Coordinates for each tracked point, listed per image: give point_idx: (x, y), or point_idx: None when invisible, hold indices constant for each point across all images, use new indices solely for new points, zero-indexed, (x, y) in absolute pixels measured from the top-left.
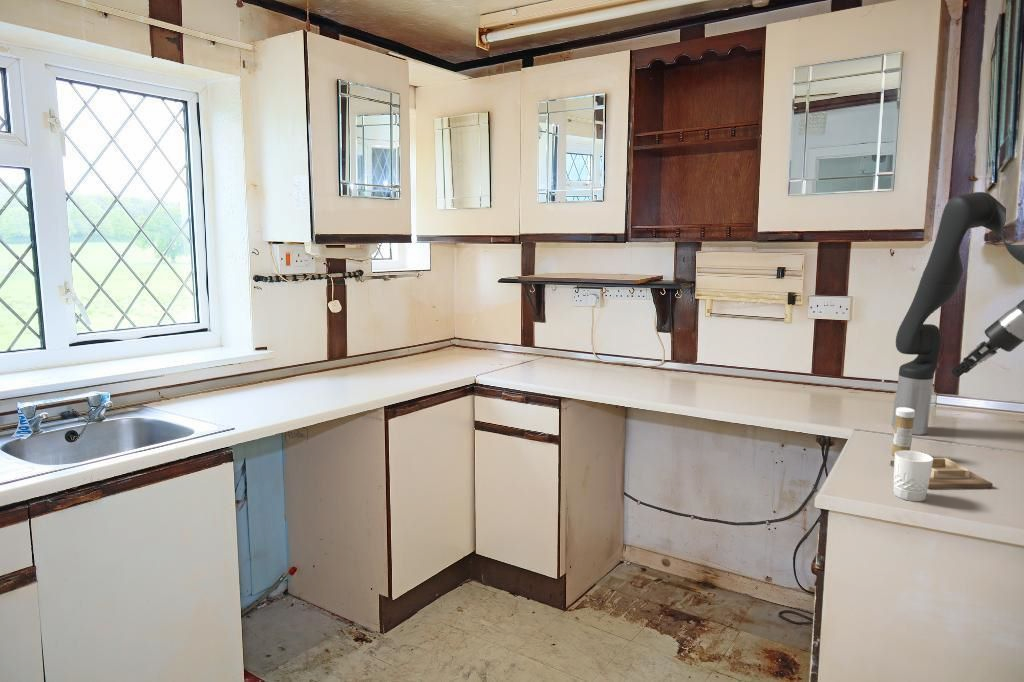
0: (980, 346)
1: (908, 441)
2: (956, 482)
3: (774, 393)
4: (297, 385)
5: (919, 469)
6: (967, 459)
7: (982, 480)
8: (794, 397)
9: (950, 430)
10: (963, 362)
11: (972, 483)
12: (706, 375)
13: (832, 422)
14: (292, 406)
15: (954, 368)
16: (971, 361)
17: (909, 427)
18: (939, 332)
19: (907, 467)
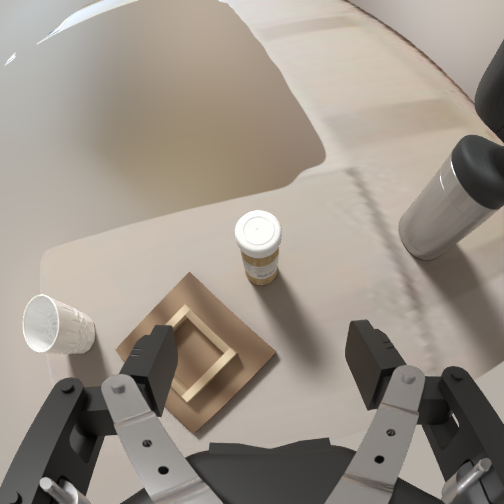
0: (5, 487)
1: (250, 273)
2: None
3: (401, 71)
4: None
5: (33, 338)
6: (337, 365)
7: (196, 419)
8: (410, 87)
9: (471, 281)
10: (134, 380)
11: (167, 407)
12: (386, 29)
13: (355, 137)
14: (95, 11)
15: (149, 336)
16: (74, 426)
17: (247, 262)
18: None
19: (31, 321)
